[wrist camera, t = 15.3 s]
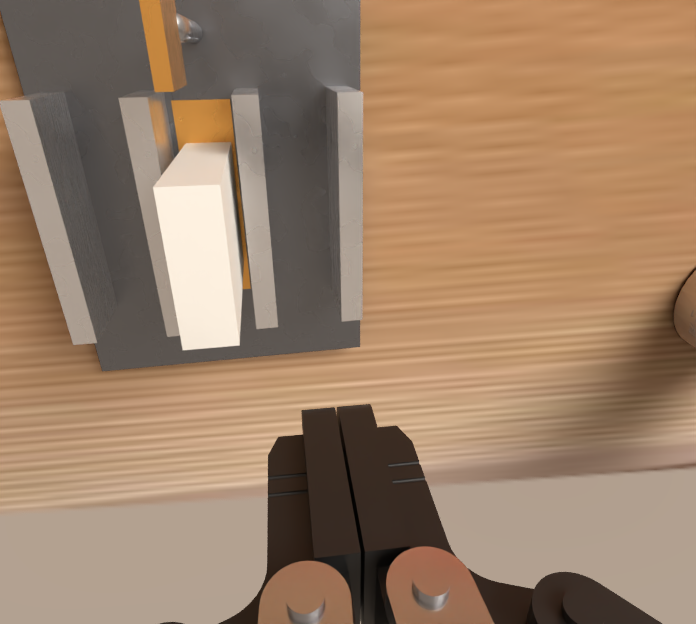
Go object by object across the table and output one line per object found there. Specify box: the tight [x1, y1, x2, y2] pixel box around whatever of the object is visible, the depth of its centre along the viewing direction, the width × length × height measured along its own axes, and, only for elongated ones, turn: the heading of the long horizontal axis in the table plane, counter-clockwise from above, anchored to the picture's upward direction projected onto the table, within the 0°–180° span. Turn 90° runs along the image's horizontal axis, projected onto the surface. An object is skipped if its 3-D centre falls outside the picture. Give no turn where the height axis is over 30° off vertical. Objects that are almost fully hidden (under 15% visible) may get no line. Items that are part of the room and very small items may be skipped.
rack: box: [0, 0, 363, 371], centre depth 25 cm, size 17×21×12 cm
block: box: [153, 142, 244, 350], centre depth 25 cm, size 2×7×10 cm, turn 0°
